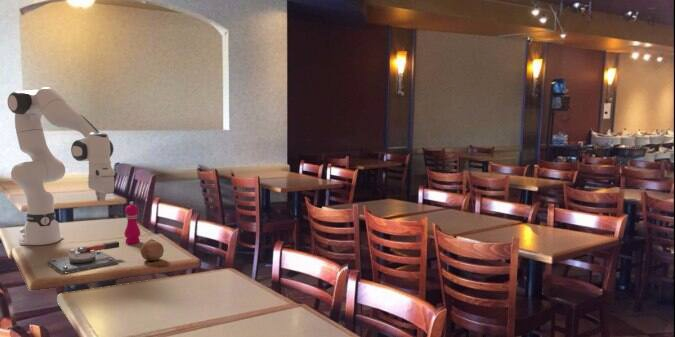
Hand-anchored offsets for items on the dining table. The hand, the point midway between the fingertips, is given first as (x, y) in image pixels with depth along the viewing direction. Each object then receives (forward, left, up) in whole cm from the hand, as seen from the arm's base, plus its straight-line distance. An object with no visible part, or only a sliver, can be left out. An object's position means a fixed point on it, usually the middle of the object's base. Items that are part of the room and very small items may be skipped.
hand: (101, 201), depth 243 cm
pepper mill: (-13, +19, -24) cm, 33 cm away
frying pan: (+7, -6, -22) cm, 24 cm away
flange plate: (+7, -11, -24) cm, 27 cm away
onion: (+21, +13, -24) cm, 35 cm away
